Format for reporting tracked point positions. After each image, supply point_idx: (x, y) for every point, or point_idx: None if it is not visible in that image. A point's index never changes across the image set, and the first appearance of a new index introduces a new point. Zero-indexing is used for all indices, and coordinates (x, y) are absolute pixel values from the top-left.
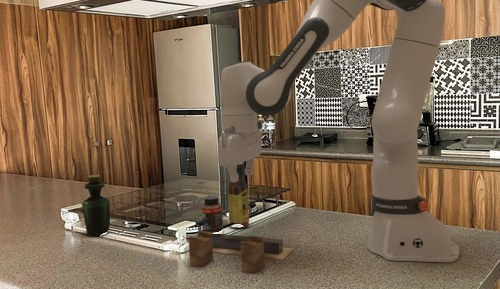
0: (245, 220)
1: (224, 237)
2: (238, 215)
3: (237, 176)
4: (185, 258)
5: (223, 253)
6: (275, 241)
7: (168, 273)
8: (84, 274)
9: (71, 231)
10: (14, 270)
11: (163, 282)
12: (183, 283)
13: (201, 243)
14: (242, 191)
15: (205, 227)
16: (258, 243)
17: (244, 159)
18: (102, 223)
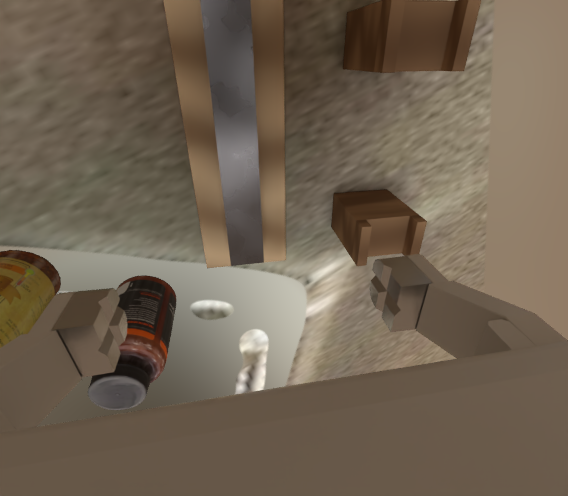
0: (13, 263)
1: (255, 219)
2: (30, 290)
3: (419, 274)
4: (339, 256)
5: (284, 191)
6: (231, 7)
7: (430, 236)
8: (442, 349)
9: None
10: None
11: (476, 217)
12: (483, 176)
13: (418, 215)
14: None
15: (173, 319)
16: (407, 13)
17: (393, 391)
18: None
